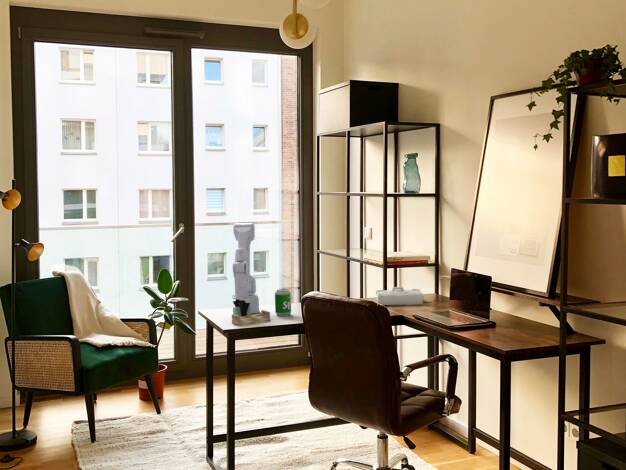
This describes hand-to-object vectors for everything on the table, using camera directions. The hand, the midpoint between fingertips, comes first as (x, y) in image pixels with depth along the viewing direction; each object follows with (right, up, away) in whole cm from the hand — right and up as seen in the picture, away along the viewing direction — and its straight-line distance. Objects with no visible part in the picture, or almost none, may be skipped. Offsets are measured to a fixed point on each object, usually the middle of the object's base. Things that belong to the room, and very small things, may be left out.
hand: (242, 316), depth 331 cm
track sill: (+5, -2, -7) cm, 9 cm away
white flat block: (+79, +3, +31) cm, 85 cm away
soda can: (+19, -1, +7) cm, 20 cm away
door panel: (0, -2, 0) cm, 2 cm away
